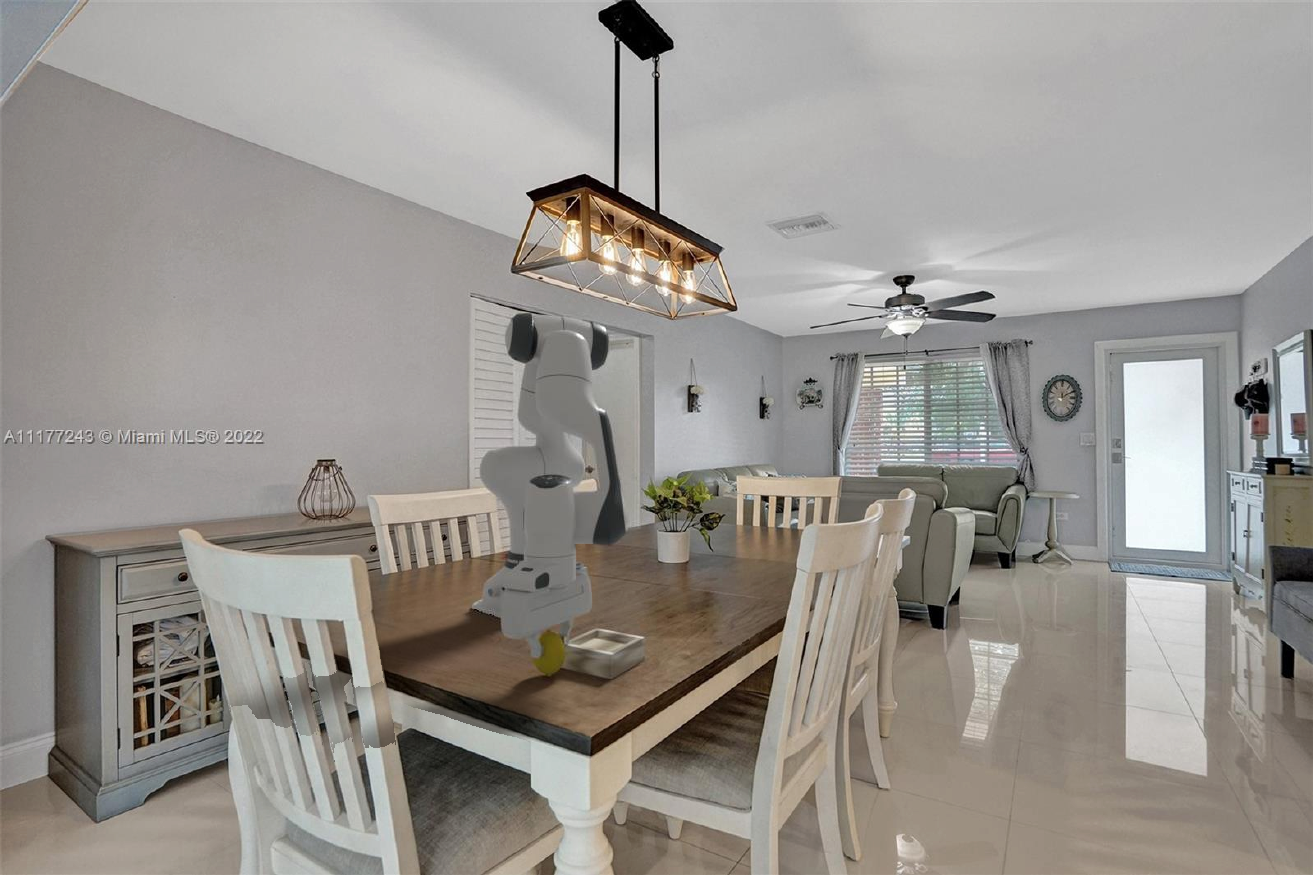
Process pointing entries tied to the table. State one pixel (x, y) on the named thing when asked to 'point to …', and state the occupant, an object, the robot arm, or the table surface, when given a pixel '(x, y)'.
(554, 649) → the lemon
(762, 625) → the table surface
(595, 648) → the base
